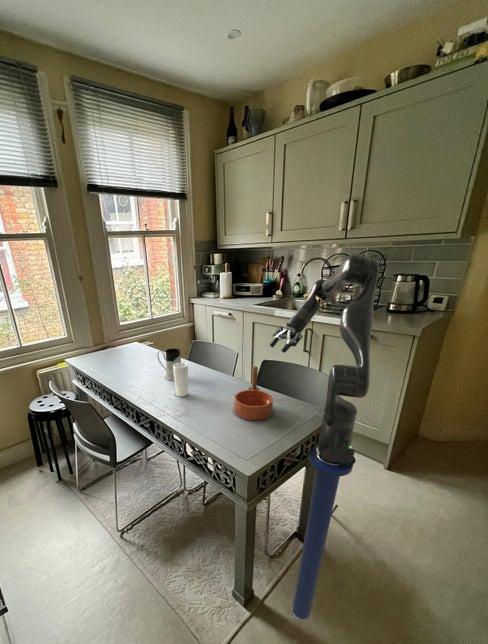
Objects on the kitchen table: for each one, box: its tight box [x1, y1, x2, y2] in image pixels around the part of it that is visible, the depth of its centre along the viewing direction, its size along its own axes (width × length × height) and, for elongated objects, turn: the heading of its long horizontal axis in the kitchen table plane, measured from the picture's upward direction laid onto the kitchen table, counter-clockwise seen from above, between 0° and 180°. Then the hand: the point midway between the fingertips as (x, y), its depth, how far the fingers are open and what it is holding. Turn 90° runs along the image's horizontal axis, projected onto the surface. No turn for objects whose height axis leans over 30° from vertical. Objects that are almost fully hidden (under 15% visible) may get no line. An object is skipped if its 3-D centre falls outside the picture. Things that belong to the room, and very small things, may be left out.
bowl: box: [233, 389, 274, 421], centre depth 132 cm, size 16×16×6 cm
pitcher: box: [156, 347, 182, 382], centre depth 167 cm, size 9×14×15 cm, turn 60°
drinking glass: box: [173, 362, 189, 397], centre depth 147 cm, size 7×7×15 cm
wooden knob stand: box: [247, 365, 261, 391], centre depth 144 cm, size 5×5×14 cm
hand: (276, 348), depth 142 cm, fingers open, 8 cm apart
